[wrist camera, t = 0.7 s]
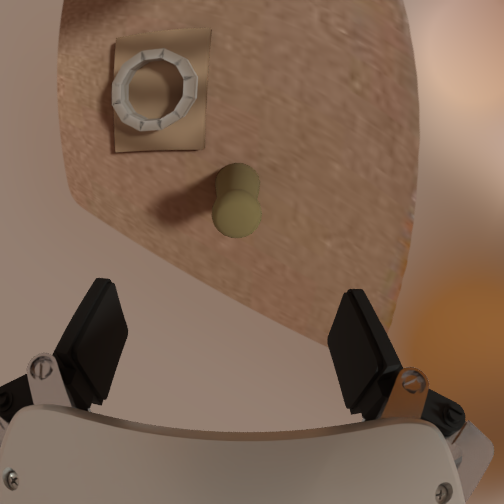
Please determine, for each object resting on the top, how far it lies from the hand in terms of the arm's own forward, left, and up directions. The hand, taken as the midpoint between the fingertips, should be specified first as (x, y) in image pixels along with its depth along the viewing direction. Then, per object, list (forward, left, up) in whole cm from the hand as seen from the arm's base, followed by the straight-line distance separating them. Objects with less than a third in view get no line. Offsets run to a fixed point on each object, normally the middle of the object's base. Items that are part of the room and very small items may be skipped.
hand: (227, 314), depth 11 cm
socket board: (-9, -10, -28) cm, 31 cm away
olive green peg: (+4, 0, -28) cm, 28 cm away
